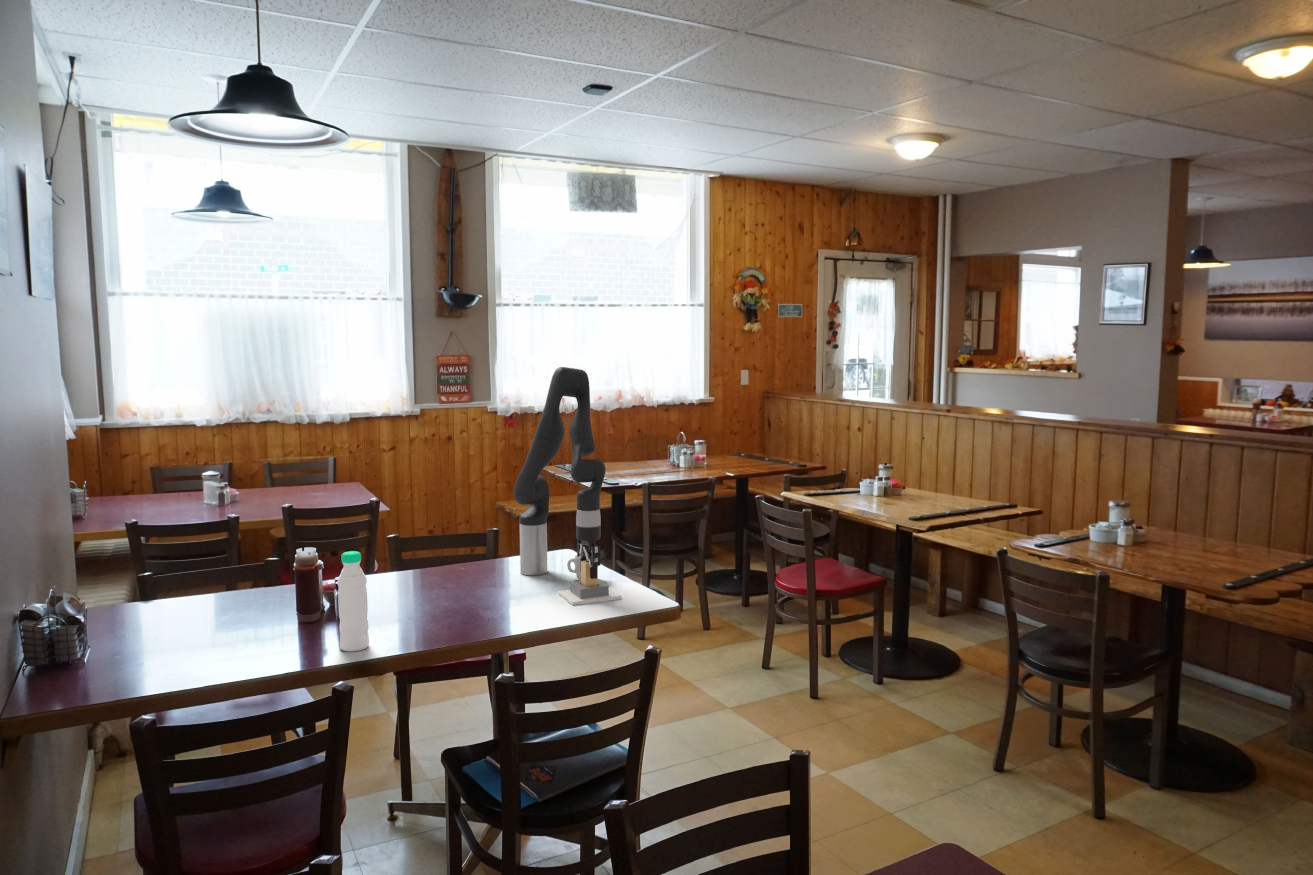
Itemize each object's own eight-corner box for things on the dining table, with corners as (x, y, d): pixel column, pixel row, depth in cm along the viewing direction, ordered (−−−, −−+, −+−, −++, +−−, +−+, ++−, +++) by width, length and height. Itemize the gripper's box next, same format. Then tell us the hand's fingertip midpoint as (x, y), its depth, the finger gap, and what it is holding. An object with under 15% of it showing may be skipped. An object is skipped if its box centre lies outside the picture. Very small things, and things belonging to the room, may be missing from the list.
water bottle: (359, 641, 229) (355, 548, 226) (374, 646, 224) (371, 552, 222) (334, 648, 223) (330, 553, 221) (349, 654, 219) (346, 557, 216)
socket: (558, 594, 272) (557, 581, 271) (605, 588, 279) (605, 576, 278) (572, 605, 260) (571, 592, 260) (621, 598, 267) (621, 586, 266)
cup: (563, 581, 287) (562, 557, 286) (572, 575, 294) (572, 552, 294) (593, 584, 284) (593, 560, 283) (602, 577, 291) (602, 554, 290)
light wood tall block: (581, 592, 270) (580, 553, 269) (593, 590, 272) (592, 552, 271) (585, 595, 267) (585, 556, 265) (597, 594, 268) (597, 554, 267)
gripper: (608, 527, 262) (608, 579, 264) (591, 518, 275) (591, 568, 277) (584, 529, 259) (585, 582, 261) (569, 520, 272) (569, 570, 273)
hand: (588, 575), depth 269 cm, fingers open, 8 cm apart
